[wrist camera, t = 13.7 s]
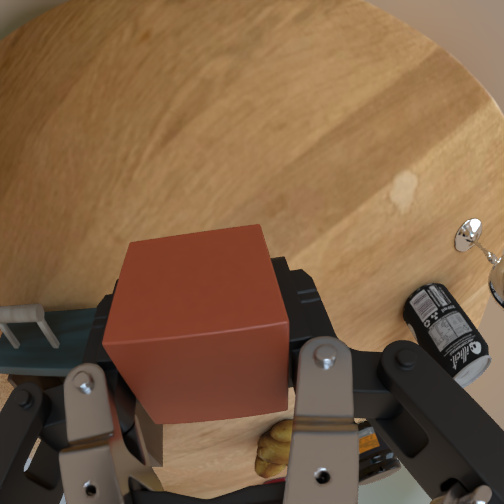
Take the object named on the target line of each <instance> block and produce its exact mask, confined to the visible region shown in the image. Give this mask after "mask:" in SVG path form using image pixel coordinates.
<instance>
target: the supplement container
mask: <svg viewBox="0 0 504 504" xmlns="http://www.w3.org/2000/svg"><path fill="white" fill-rule="evenodd" d="M358 430H359V482H358V485H365V484H369V483H373V482H375V481H378V480H381V479H383V478H386V477H388V476H390V475H392V474H393V473H395V472H397V471H398V470H400V468H401V465H400V462H399V460H397V457H396V455H395V454H394V453H393V452H392V450H391V449H390V448H389V447H388V445H387V444H386V443H385V442H384V441H383V439H382V438H381V437H380V436H379V434H378V433H377V432H376V431H375V429H374V428H373V427H372V426H371V424H370V423H369V422H368V421H366V422H363V423H361V424H358Z"/></svg>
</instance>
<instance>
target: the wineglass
mask: <svg viewBox="0 0 504 504" xmlns="http://www.w3.org/2000/svg"><path fill="white" fill-rule="evenodd" d="M481 233H482V223H481V221H480V220H479V219H477V218H473V219H470V220H468V221H466V222H465V223H464V224H463V225H462V226H461V227H460V229H459V230H458V232H457V234H456V237H455V247H456V249H457V250H458V251H460V252H464V251H467V250H469V249H471V248H472V247H473V246H474V245H476V246H478V247H479V248H480V249H481V250H482V251H483V253H484V254H485V256H486V257H487V259H488V261H489V262H490V263H491V264H494V265H493V267H492V269H491V271H490V274H489V278H488V287H489V292H490V294H491V296H492V298H493V300H494V301H495V302H496V304H497V305H498V306H499V307H500V308H501V309H502V310H503V311H504V255H503V256H501V257H500V258H499V259H498V260H497V257H496V256H495V254H493V253H492V252H489V251H488V250H486V249H485V248H484V247H483V246H482V245H481V244H480V243H479V242H478V240H479V238H480V236H481Z"/></svg>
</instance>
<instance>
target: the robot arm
mask: <svg viewBox="0 0 504 504" xmlns="http://www.w3.org/2000/svg"><path fill="white" fill-rule="evenodd" d="M270 259H271V262H272V265H273V268H274V272H275V275H276V278H277V282H278V285H279V289H280V292H281V295H282V299H283V302H284V305H285V309H286V312H287V316H288V319H289V384H288V388H290V387H293V388H294V392H295V395H296V397H295V408H294V418H293V425H292V434H291V443H290V452H289V460H288V468H287V476H286V481H281V482H275V483H269V484H262V485H255V486H248V487H246V488H243V489H240V490H237V491H234V492H231V493H228V494H225V495H222V496H219V497H216V498H212V499H200V498H195V497H189V496H185V495H180V494H176V493H171V492H167V491H164V489H163V487H162V484H161V482H160V480H159V478H158V477H157V475H156V474H155V472H154V470H153V468H152V466H151V463H150V459H149V456H148V453H147V449H146V446H145V442H144V439H143V435H142V431H141V428H140V424H139V420H138V417H137V416H136V414H135V409H136V403H140V402H139V401H138V399H137V398H136V396H135V395H134V394H133V392H132V391H131V389H130V388H129V386H128V385H127V383H126V382H125V380H124V379H123V377H122V376H121V374H120V373H119V371H118V370H117V368H116V366H115V365H114V363H113V362H112V360H111V358H110V357H109V355H108V354H107V352H106V350H105V349H104V347H103V345H102V341H103V337H104V332H105V328H106V324H107V320H108V316H109V312H110V309H111V305H112V301H113V297H114V294H115V290H116V287H117V283H118V280H119V279H117V281H116V284H115V287H114V290H113V294H110V295H105V297H104V298H103V299H102V301H101V302H100V303H99V305H98V306H97V309H96V312H95V316H94V320H93V323H92V326H91V328H92V329H91V330H90V333H89V337H88V341H87V344H86V348H85V352H84V356H83V360H82V364H81V365H78V366H76V367H75V368H73V369H72V370H71V371H70V372H69V373H68V375H67V376H66V378H65V381H64V384H62V385H59V386H56V387H53V388H50V389H47V390H42V389H41V388H40V387H39V386H38V385H37V384H36V383H34V382H30V381H29V382H23V383H21V384H20V385H18V386H17V387H16V388H15V389H14V390H13V391H12V393H11V394H10V396H9V398H8V400H7V401H6V403H5V405H4V407H3V408H2V410H1V412H0V504H59V503H60V501H61V498H62V496H63V493H64V495H65V500H66V504H358V482H359V430H358V425H357V423H355V421H354V418H366V420H367V421H368V422H369V423H370V424H371V426H372V427H373V428H374V429H375V431H376V432H377V433H378V434H379V436H380V437H381V438H382V439H383V441H384V442H385V443H386V444H387V445H388V447H389V448H390V449H391V450H392V452H393V453H394V454H395V455H396V457H397V458H398V459H399V460H400V461H401V463H402V464H403V465H404V466H405V468H406V469H407V470H408V471H409V472H410V474H411V475H412V476H413V477H414V479H415V480H416V481H417V482H418V483H419V485H420V486H421V487H422V488H423V489H424V491H425V492H426V493H427V494H428V495H429V497H430V498H431V499H432V501H431V502H430V504H504V431H503V430H502V429H501V428H500V427H499V425H498V424H497V423H496V422H495V421H494V420H493V419H492V418H491V417H490V416H489V415H488V414H487V413H486V412H485V411H484V410H483V409H482V407H480V405H479V404H478V403H477V402H476V401H475V400H474V399H473V398H472V397H471V396H470V395H469V394H468V393H467V392H466V391H465V390H464V389H463V388H462V387H461V386H460V385H459V384H458V383H457V382H456V381H455V380H454V379H453V378H452V377H451V376H450V375H449V374H448V373H447V372H446V371H445V370H444V369H443V368H442V367H441V366H440V365H439V364H438V363H437V362H436V361H435V360H434V359H433V358H432V357H431V356H430V355H429V354H428V353H427V352H426V351H425V350H424V349H423V348H422V347H421V346H419V345H418V344H416V343H414V342H411V341H406V340H399V341H395V342H392V343H390V344H389V345H387V346H386V347H385V349H384V350H383V352H367V351H358V350H354V349H351V348H349V347H348V346H347V345H346V344H345V343H344V342H342V341H341V340H339V339H338V338H337V336H336V334H335V332H334V329H333V327H332V324H331V322H330V319H329V317H328V315H327V312H326V310H325V307H324V305H323V303H322V301H321V298H320V296H319V293H318V291H317V288H316V286H315V284H314V281H313V279H312V277H310V276H309V275H308V274H307V273H306V272H305V271H303V270H302V269H299V270H292V271H290V270H289V267H288V264H287V262H286V259H285V257H284V256H283V257H276V258H270ZM37 438H39V439H41V442H40V444H39V446H38V448H37V450H36V453H35V455H34V457H33V459H32V461H31V463H30V466H29V468H28V469H27V470H26V471H25V472H24V465H25V463H26V461H27V459H28V457H29V455H30V453H31V450H32V448H33V446H34V444H35V442H36V440H37Z"/></svg>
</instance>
